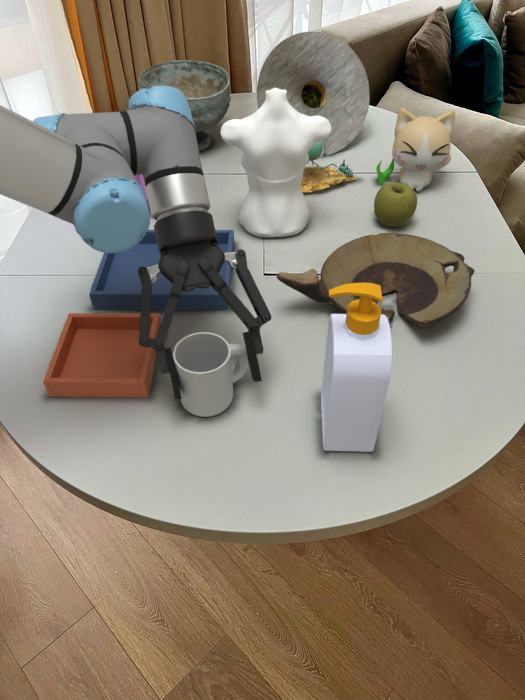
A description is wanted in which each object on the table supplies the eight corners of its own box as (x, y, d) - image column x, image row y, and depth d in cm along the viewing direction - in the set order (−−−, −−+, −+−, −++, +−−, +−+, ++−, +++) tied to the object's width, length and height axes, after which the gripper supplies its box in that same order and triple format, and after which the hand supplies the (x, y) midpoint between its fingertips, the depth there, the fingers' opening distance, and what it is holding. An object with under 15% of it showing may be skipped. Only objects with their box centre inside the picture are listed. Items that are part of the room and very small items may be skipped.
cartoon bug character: (357, 198, 112) (357, 126, 101) (268, 202, 115) (259, 132, 104) (358, 174, 118) (358, 103, 108) (273, 178, 121) (265, 109, 111)
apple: (379, 236, 103) (385, 202, 97) (365, 213, 108) (370, 179, 103) (418, 231, 104) (426, 197, 98) (402, 208, 109) (409, 174, 104)
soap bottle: (314, 396, 77) (327, 260, 60) (366, 397, 76) (393, 261, 60) (317, 452, 70) (331, 317, 54) (373, 453, 70) (405, 318, 54)
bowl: (214, 170, 120) (209, 98, 109) (133, 156, 124) (121, 86, 114) (246, 130, 133) (244, 63, 122) (171, 119, 137) (163, 54, 127)
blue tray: (93, 308, 89) (88, 294, 87) (115, 243, 102) (111, 229, 99) (228, 309, 89) (227, 294, 87) (234, 244, 101) (233, 229, 99)
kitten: (374, 194, 113) (385, 120, 102) (374, 169, 120) (384, 98, 109) (450, 199, 111) (470, 124, 100) (446, 174, 118) (463, 101, 107)
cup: (172, 389, 78) (163, 344, 71) (235, 363, 81) (233, 317, 75) (194, 426, 73) (187, 382, 67) (260, 397, 77) (260, 351, 70)
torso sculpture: (318, 208, 109) (328, 73, 91) (326, 237, 102) (338, 98, 84) (225, 213, 108) (216, 77, 90) (227, 242, 102) (218, 103, 84)
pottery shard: (474, 354, 82) (489, 315, 76) (271, 332, 85) (271, 293, 80) (462, 261, 97) (473, 223, 92) (289, 246, 101) (291, 208, 95)
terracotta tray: (49, 396, 77) (42, 382, 75) (73, 328, 86) (68, 313, 84) (147, 397, 77) (144, 382, 75) (162, 328, 86) (159, 313, 84)
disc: (364, 158, 138) (342, 55, 135) (385, 137, 120) (360, 18, 118) (265, 181, 136) (241, 77, 134) (272, 163, 119) (244, 44, 116)
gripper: (261, 210, 77) (293, 370, 78) (95, 237, 73) (131, 406, 73) (272, 195, 69) (308, 372, 70) (89, 224, 65) (129, 412, 66)
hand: (218, 389), depth 72 cm, fingers closed on cup, 10 cm apart
